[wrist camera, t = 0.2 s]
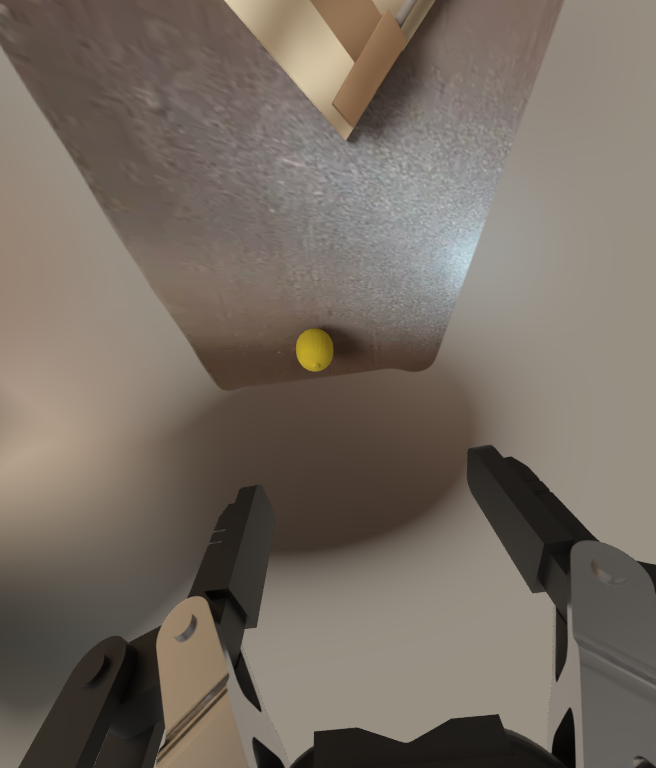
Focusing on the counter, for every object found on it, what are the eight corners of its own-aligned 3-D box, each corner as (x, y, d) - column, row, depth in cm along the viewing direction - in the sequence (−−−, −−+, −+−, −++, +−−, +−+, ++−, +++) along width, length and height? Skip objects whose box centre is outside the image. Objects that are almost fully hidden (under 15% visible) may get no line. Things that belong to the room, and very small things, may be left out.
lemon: (304, 313, 40) (305, 346, 34) (337, 326, 42) (343, 359, 36) (290, 340, 43) (289, 375, 37) (321, 351, 45) (324, 385, 40)
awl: (331, 103, 23) (333, 103, 22) (450, -105, 17) (465, -125, 16) (349, 125, 25) (352, 127, 23) (467, -63, 18) (483, -78, 17)
